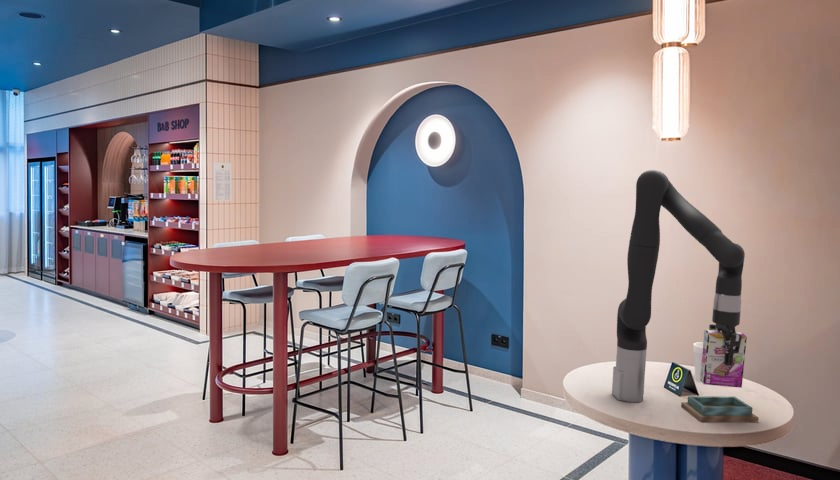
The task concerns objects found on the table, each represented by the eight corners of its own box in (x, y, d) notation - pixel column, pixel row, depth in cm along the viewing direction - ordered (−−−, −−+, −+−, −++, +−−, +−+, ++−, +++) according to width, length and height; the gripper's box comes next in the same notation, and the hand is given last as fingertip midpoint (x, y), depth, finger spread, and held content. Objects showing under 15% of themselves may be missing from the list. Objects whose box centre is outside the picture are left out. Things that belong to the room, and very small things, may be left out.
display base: (700, 421, 181) (701, 409, 180) (681, 406, 193) (682, 394, 192) (758, 422, 182) (759, 409, 181) (735, 407, 194) (736, 395, 193)
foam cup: (686, 379, 220) (689, 345, 218) (696, 374, 226) (699, 340, 225) (713, 386, 213) (716, 350, 212) (723, 380, 219) (726, 346, 218)
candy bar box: (703, 385, 185) (707, 333, 183) (699, 379, 190) (703, 329, 188) (743, 388, 183) (747, 335, 181) (737, 383, 188) (742, 331, 186)
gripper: (752, 313, 177) (748, 369, 179) (725, 303, 191) (721, 355, 193) (728, 313, 176) (723, 369, 178) (702, 303, 191) (698, 355, 192)
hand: (722, 361), depth 185 cm, fingers closed on candy bar box, 5 cm apart
